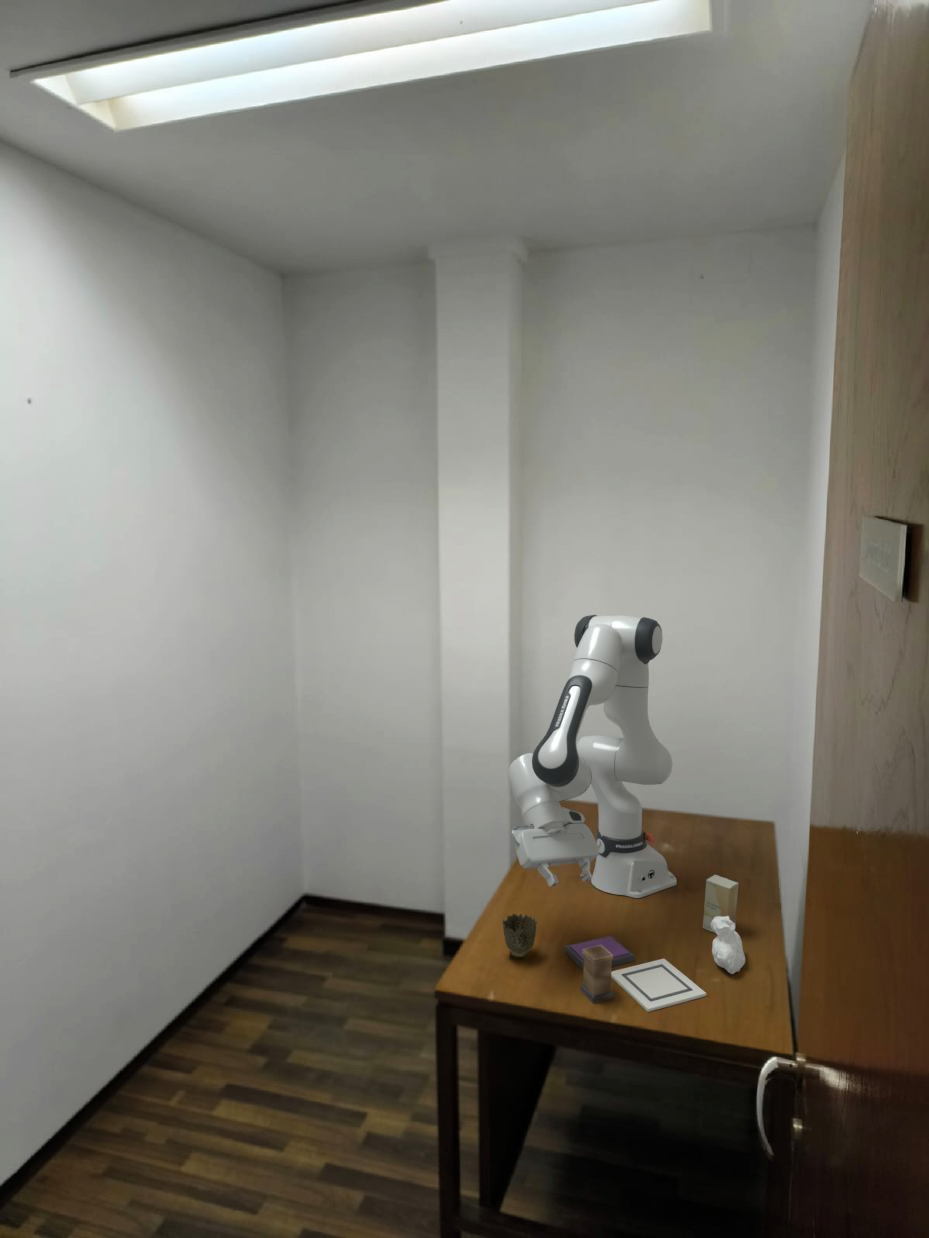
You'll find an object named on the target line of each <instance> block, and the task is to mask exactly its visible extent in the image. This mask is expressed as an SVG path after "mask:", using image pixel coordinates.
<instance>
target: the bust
mask: <svg viewBox="0 0 929 1238" xmlns="http://www.w3.org/2000/svg"><path fill="white" fill-rule="evenodd" d="M711 928H712V930H714V931H715V932H716V933H717V934H716V933H715V934H716V937H715V938H714V939H713V940H712V942H711V943H712V947H711V953H712V957H713V959H714V962H715V964H716V965H717V966H719V967H720V968H723V969H725V970H726V971H727V973H729V974H730V975H734V974H735V973H736V972H740V970H741V969H742V967H743V966H744V965H745V963H746V956H745V953H744V949H743V940H742V938H741V936H740V935H739V933H738V932H737V931H736V924H735V923H733V922H732V921H731V920H730V919H729V916H726V917H725V916H724V917H721V916H717V917H714V919H713V920H712V922H711ZM734 930H735V931H734Z"/></svg>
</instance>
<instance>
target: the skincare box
mask: <svg viewBox="0 0 929 1238" xmlns="http://www.w3.org/2000/svg"><path fill="white" fill-rule="evenodd" d="M739 885H740V884H739V882H737V881H734V880H732V879H729V878H726V877H722V876H721V875H717V874H713V875H712V876H710V877H708V878H707V879H706V880H705V890H704V891H705V892H704V907H703V909H704V910H703V918H702V919H703V921H702V928H703V929H705V930H706V931H709V932H711V933H714V934H715V935H717V933H716V932H715V931H714V930H712V928H711V922H712V920H713V919H714V917H717V916H721V917H724V916H725V917H726V916H729V919H730V920H731V921H732V922H733V923H735V925H736V922H737V909H738V908H737V907H738V895H739ZM734 931H736V929H735V930H734Z"/></svg>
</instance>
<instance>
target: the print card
mask: <svg viewBox="0 0 929 1238" xmlns="http://www.w3.org/2000/svg"><path fill="white" fill-rule="evenodd" d="M611 979H612V980H613V981H614V982H616V984H618V985H619V986H620V987H621V988H622V989H623V990H624V991H625V992H626V993H627V994H628V995H629V996H630V997H631V998H632V999H633V1000H635V1001H636V1002H637V1003H638V1004H639V1005H640V1006H641V1007H642V1008H643V1009H644V1010H645V1011H646V1012H647V1013H650V1012H653V1011H656V1010H660V1009H664V1008H667V1007H671V1006H674V1005H678V1004H682V1003H687V1002H690V1001H693V1000H697V999H699V998H700V999H701V998H704V997H707V992H705V991H704V990H703V989H702V988H700V987H699V986H698V985H697V984H696V983H694V982H693V981H692V980H691V979H690V978H688V977H687V976H686V975H685V974H684V973H683V972H681V971H680V970H678V969H677V967H675V966H674V965H672V963H670V962H669V961H667V960H666V958H661V959H656V960H652V961H649V962H645V963H641V964H636V965H632V966H628V967H625V968H620V969H616V970H613V971H612V970H611Z"/></svg>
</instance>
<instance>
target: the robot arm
mask: <svg viewBox="0 0 929 1238" xmlns="http://www.w3.org/2000/svg"><path fill="white" fill-rule="evenodd" d="M573 637H574V639H573V641H574V645H575V648H576V651H575V653H574V657H573V660H572V662H571V666H570V670H569V672H568V673H569V674H568V678H567V681H566V683H565V686H564V687H563V689H562V691H561V694H560V697H559V699H558V703H557V705H556V707H555V710H554V712H553V716H552V718H551V722H550V724H549V727H548V729H547V732H546V734H545V735H544V737H543V738H541V740H540V741H539V743H538V744H537V746H536V747H535V749H534V750H533V753H532V752H528V753H524V754H521V755H519V756H518V757H516V758H515V759H513V761H512V763H510V765H509V766H508V769H507V777H508V781H509V787H510V789H511V792H512V795H513V798H514V799H515V802H516V804H517V805H518V806H519V807H520V810H521V816H522V819H523V823H524V825H515V826H514V827H513V828H512V830H511V836H512V839H513V842H514V848H515V852H516V856H517V859H518V862H519V865H520V866H521V867H522V868H523V869H525V870H529V869H537V872H538V873H539V875H541V876H542V877H543V878H544V879H545V880H546V882H547V885H548V887H555V886H557V885H558V884H559V879H558V876H557V874H553V873H552V871H551V870H550V869H549V868H550V867H554V866H563V865H571V864H578V866H579V867H580V868H582V869H581V870H582V871H581V873H580V874H579V876H580V878H581V881H582V882H583V883H584V882H591V884H592V886H593V887H595V888H596V889H597V890H600V891H602V892H605V893H609V894H613V895H617V896H618V895H620V896H626V897H627V896H628V897H630V898H635V899H641V898H643V897H647V896H649V895H652V894H655V893H657V892H660V891H662V890H665V889H668V888H671V887H674V886H677V884H678V883H677V882H678V881H677V878H676V877H675V875H674V874H673V873H672V872H671V871H670V870H669V869H668V863H667V860H666V859H665V857H664V856H663V854H661V853H660V852H658V851H657V850H656V849H654V847H652V846H650V844H648V843H647V842H649V843H653V842H655V840H656V838H655V837H656V836H654V834H651V833H650V832H647V833H646V831H645V830H642V827H643V826H642V825H643V823H642V822H643V807H642V804H641V801H640V800H639V798H638V797H637V796H635V795H634V793H631V791H629V790H628V789H627V788H626V786H625V785H624V783H629V784H637V785H643V786H653V785H654V786H655V785H662V784H664V783H665V782H666V781H667V780H668V778H670V777H671V776H670V775H671V773H672V771H673V758H672V756H671V753H670V751H669V749H667V747H665V746H664V745H663V744H662V743H661V742H660V741H659V739H658V738H657V737H656V734H655V733H654V731H653V729H652V727H651V726H652V725H651V724H650V720H649V710H648V709H649V708H648V707H649V702H648V701H649V685H650V683H649V680H650V678H649V677H650V675H649V673H650V672H649V670H650V669H649V663H650V661H652V660H653V659H655V658H656V657H657V656H658V655H659V654H660V651H661V649H662V645H663V637H664V636H663V630H662V627H661V625H660V624H659V622H658V621H657V620H656V619H653V618H648V617H645V616H643V617H640V616H633V615H625V614H617V615H614V614H613V615H612V614H611V615H610V614H608V615H606V614H605V615H597V614H590V615H586V616H585V615H584V617H582V618H580V619H579V621H578V622H577V623H576V625H575V629H574V635H573ZM601 704H603V709H602V710H603V712H604V715H605V716H606V718H607V719H608V720H609V721H610V722H612V723H613V724H615V725H617V726H618V728H619V729H620V730H621V734H622V737H617V736H609V735H602V734H600V735H599V734H596V735H595V734H594V735H584V736H582V737H581V738H580V739H578V735H579V732H580V729H581V727H582V724H583V721H584V718H585V715H586V711H587V710H588V708H589V707H590V706H598V705H601ZM577 739H578V741H577ZM590 785H591V787H592V789H593V791H594V794H595V797H596V801H597V810H598V828H597V829H596V839H595V836H594V835H593V833H592V831H591V829H590V828H589V826H588V825H586V824H585V823H584V822H586V819H585V816H584V814H583V813H581V812H580V811H579V812H578V811H575V810H572V809H568V808H566V807H564V806H561V804H560V802H563V801H567V800H571V799H574V798H577V797H579V796H582V795H583V794H584V793H586V791H587V790H588V788H590ZM594 859H596V860H595V863H594V864H595V865H594V867H593V868H594V869H593V873H591V871H590V870H591V862H592V861H593V860H594Z"/></svg>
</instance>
